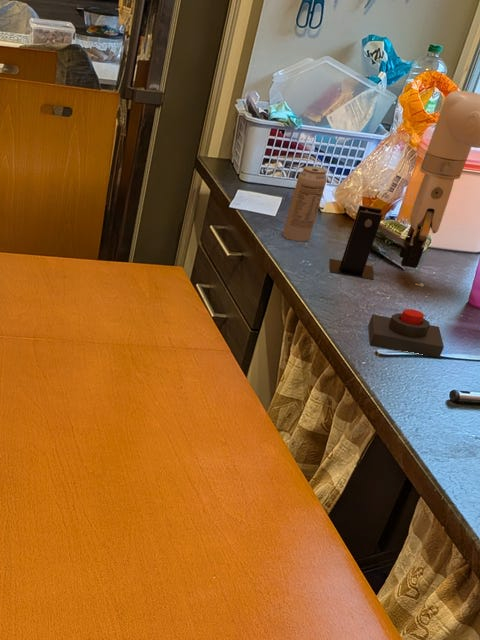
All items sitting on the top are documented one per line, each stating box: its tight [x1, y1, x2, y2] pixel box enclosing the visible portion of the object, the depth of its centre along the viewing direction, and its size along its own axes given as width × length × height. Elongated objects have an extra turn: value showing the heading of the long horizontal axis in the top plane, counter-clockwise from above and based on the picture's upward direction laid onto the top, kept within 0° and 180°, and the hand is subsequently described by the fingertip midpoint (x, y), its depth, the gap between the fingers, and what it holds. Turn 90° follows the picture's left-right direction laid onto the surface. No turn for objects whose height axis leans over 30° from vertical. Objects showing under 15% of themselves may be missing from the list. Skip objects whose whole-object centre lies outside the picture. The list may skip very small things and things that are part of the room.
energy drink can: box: [282, 165, 328, 243], centre depth 204 cm, size 6×6×15 cm
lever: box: [365, 209, 410, 248], centre depth 188 cm, size 13×5×2 cm, turn 74°
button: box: [400, 308, 425, 325], centre depth 165 cm, size 4×4×2 cm
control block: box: [367, 312, 445, 359], centre depth 167 cm, size 12×10×4 cm
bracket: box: [328, 204, 383, 281], centre depth 191 cm, size 9×9×13 cm
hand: (408, 261), depth 190 cm, fingers closed on lever, 5 cm apart
